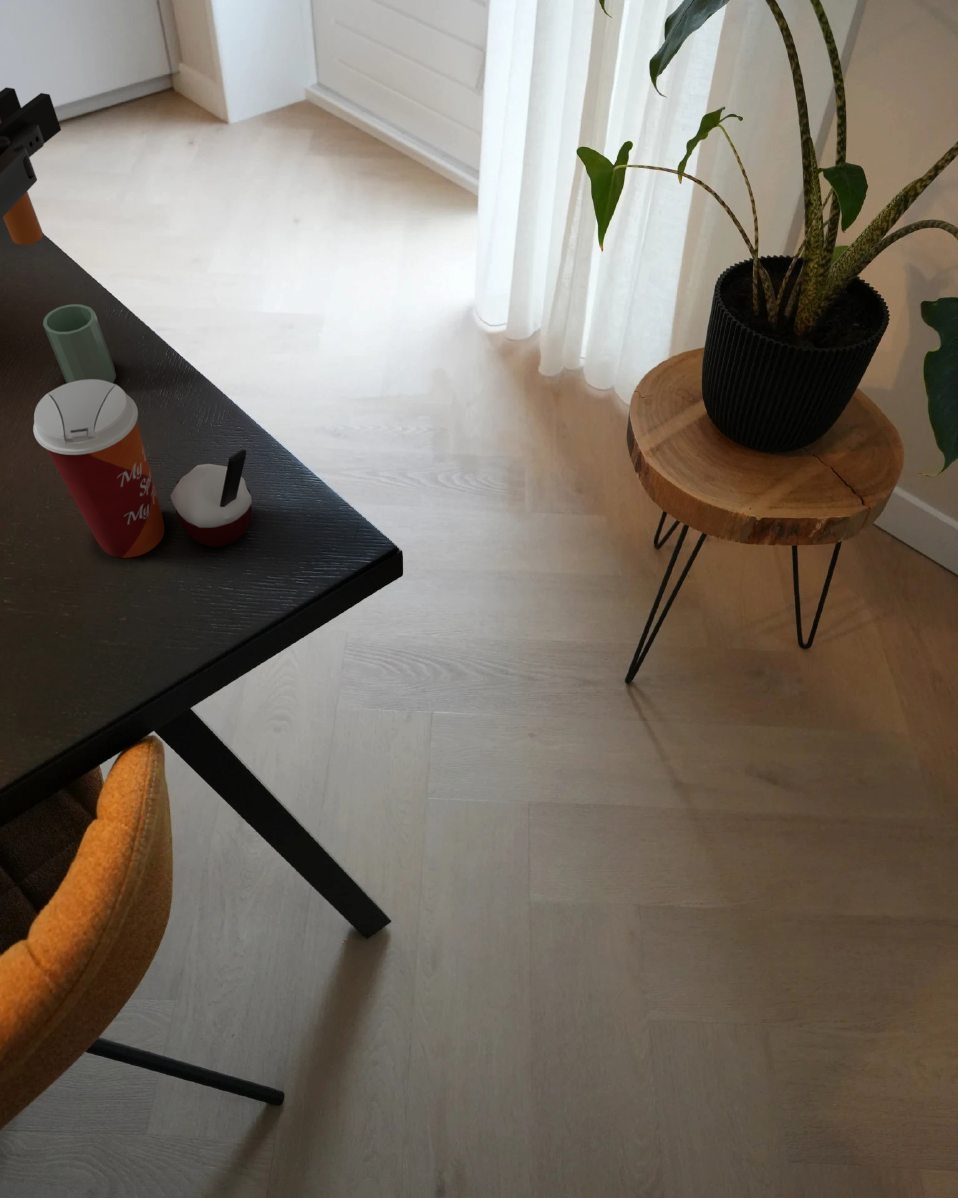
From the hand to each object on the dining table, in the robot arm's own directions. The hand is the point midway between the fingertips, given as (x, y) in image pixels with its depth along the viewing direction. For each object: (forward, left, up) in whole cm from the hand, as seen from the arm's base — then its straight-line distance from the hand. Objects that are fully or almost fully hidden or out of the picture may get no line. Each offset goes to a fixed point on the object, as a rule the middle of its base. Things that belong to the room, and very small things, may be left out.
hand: (33, 108), depth 75 cm
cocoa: (+17, -17, -27) cm, 36 cm away
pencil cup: (-4, 0, -27) cm, 27 cm away
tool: (-1, -5, -8) cm, 9 cm away
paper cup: (+9, -19, -27) cm, 34 cm away
